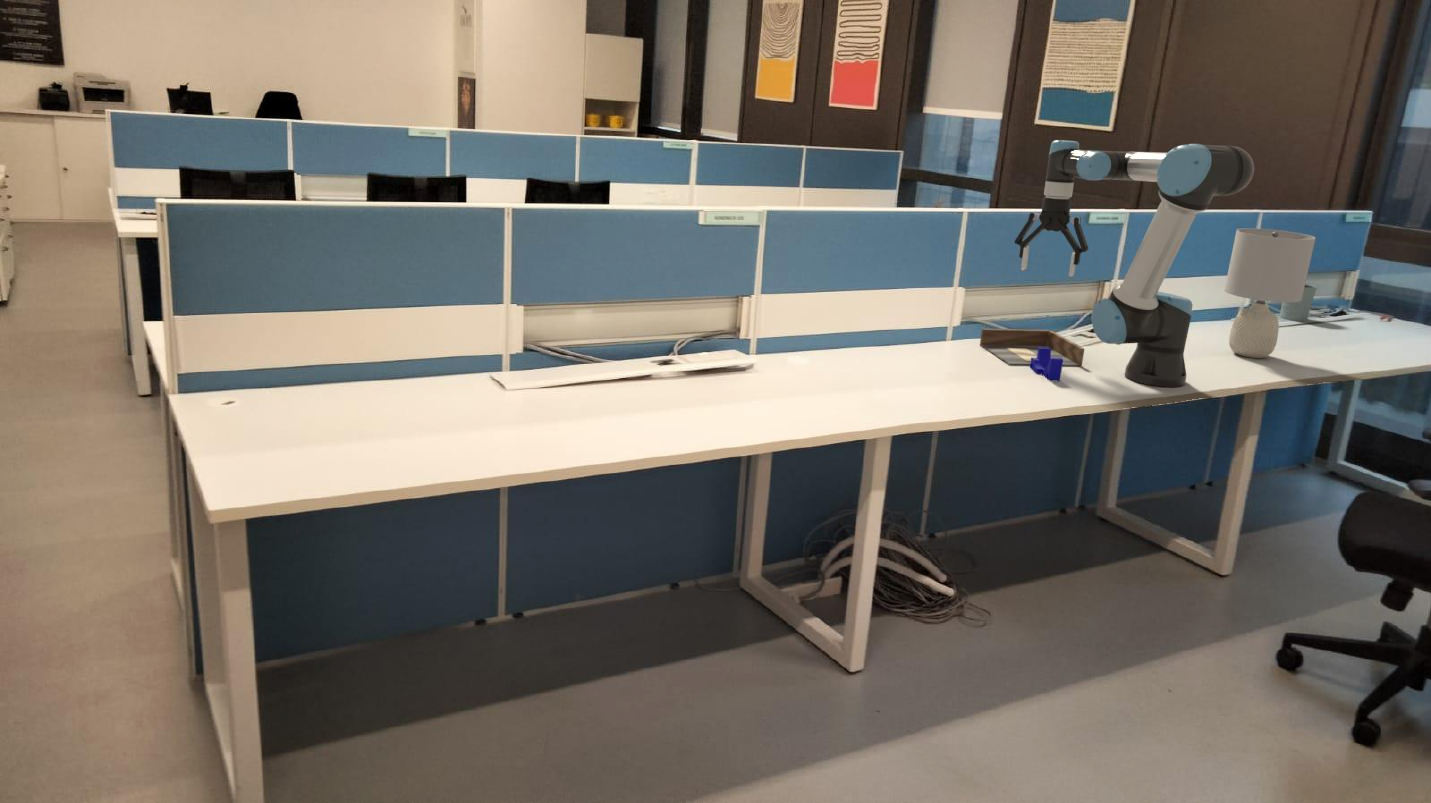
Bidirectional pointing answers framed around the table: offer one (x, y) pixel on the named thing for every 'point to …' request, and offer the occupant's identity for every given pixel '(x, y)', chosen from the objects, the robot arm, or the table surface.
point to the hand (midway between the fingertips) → (1047, 272)
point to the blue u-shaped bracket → (1047, 364)
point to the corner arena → (1029, 346)
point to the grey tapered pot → (1299, 305)
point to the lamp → (1265, 284)
